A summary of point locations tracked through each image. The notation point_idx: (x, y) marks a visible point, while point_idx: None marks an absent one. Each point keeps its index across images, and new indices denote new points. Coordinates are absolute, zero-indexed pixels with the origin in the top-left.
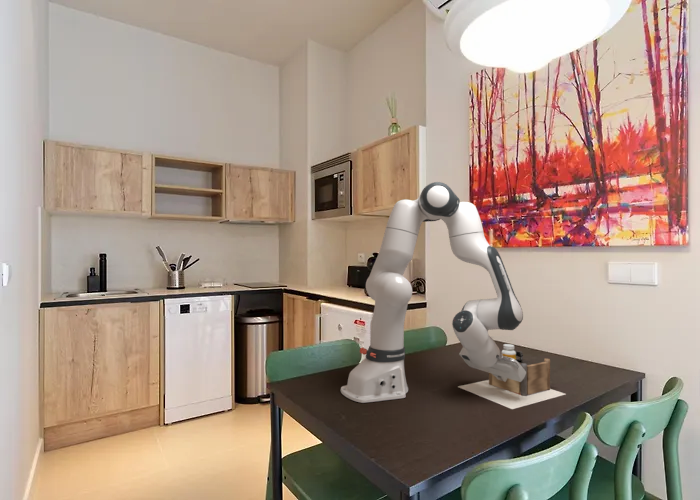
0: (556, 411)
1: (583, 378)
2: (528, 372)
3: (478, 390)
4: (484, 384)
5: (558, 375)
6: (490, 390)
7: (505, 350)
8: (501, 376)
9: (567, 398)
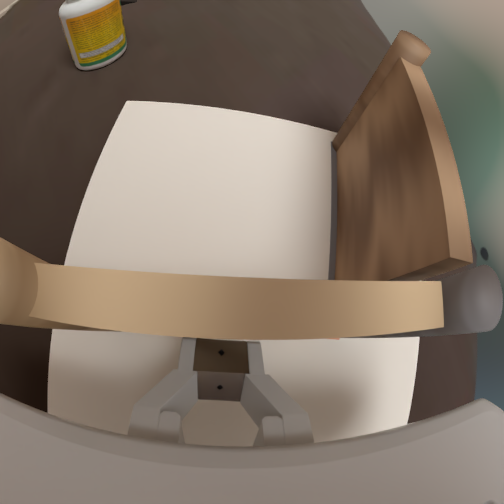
0: (469, 354)
1: (314, 13)
2: (437, 272)
3: None
4: (93, 340)
5: (258, 15)
6: None
7: (74, 1)
8: (231, 391)
9: None
